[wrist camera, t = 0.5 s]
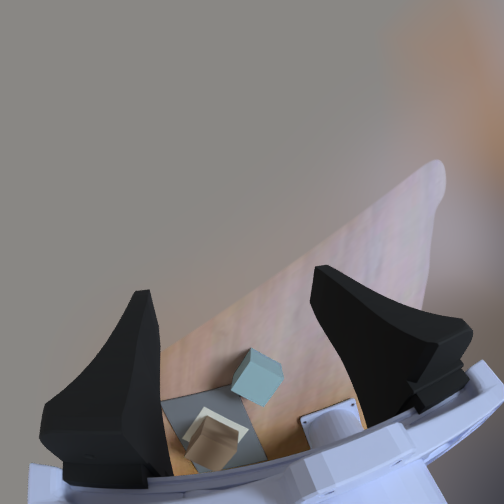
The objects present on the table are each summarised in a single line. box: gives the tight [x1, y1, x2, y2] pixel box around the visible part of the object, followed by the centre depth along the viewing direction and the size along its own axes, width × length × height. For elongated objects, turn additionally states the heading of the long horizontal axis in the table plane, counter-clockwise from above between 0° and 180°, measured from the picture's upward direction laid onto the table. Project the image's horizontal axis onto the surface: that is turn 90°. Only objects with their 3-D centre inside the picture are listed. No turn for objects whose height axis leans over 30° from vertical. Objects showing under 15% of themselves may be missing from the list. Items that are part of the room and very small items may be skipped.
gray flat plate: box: [161, 384, 268, 473], centre depth 36 cm, size 14×11×1 cm
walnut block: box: [184, 415, 239, 472], centre depth 33 cm, size 5×5×5 cm
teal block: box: [231, 348, 284, 407], centre depth 34 cm, size 4×4×5 cm
